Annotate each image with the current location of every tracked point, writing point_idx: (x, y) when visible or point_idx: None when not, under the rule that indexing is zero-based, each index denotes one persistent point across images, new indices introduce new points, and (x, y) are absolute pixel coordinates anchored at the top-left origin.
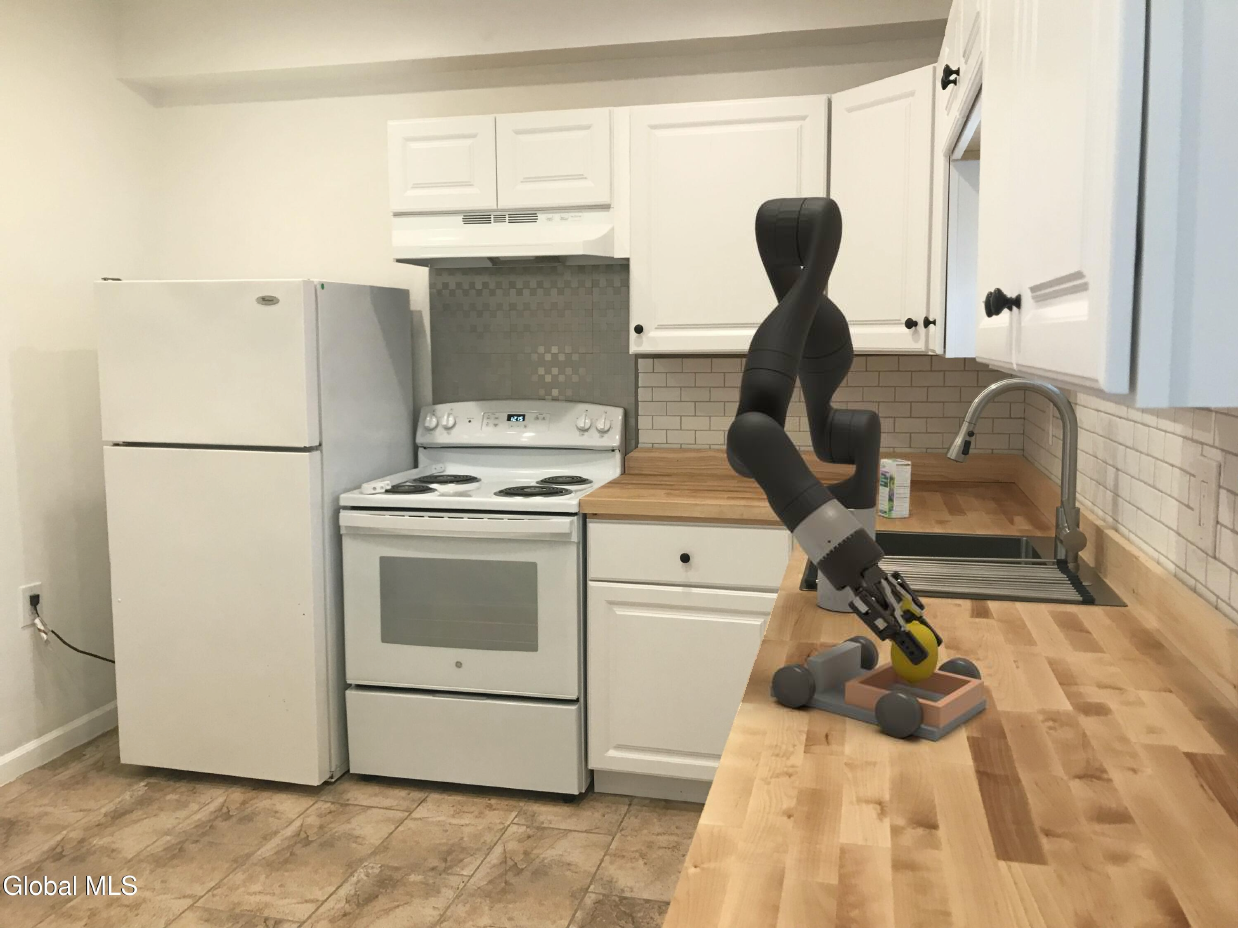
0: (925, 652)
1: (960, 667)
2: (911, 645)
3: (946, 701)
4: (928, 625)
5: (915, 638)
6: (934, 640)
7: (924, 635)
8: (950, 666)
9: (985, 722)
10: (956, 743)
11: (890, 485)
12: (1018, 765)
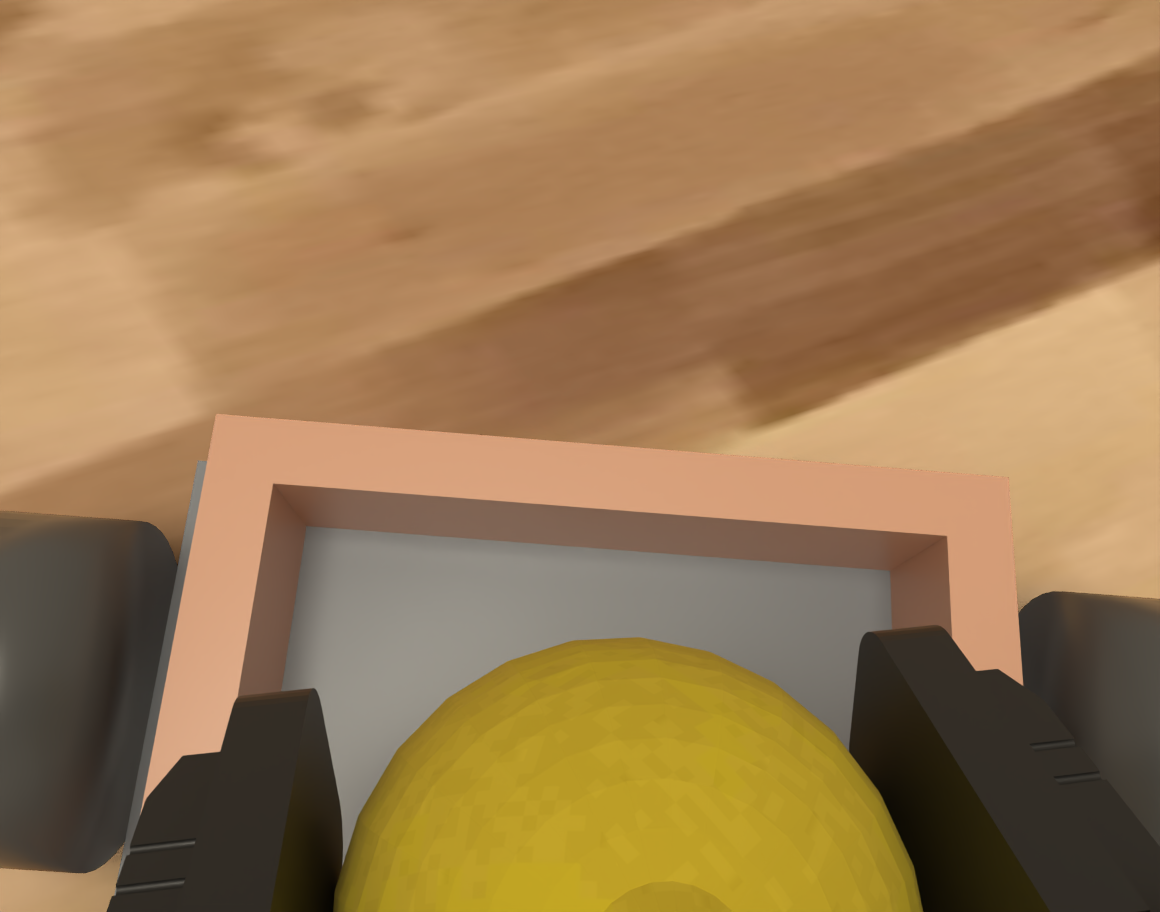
0: (949, 644)
1: (82, 629)
2: (1111, 790)
3: (865, 485)
4: (251, 895)
5: (1013, 789)
6: (616, 656)
7: (783, 741)
8: (63, 731)
9: (479, 407)
10: (910, 435)
11: None
12: (955, 119)
